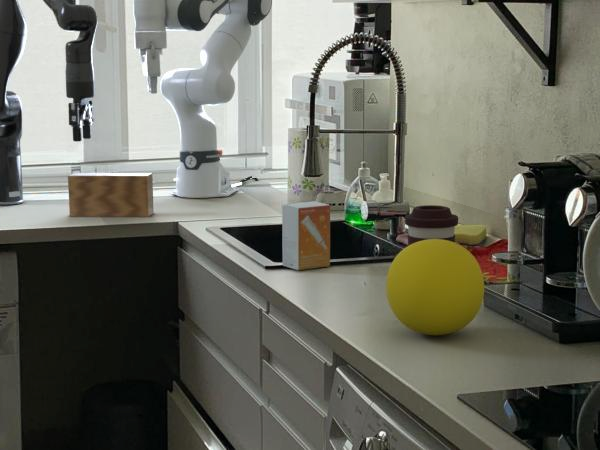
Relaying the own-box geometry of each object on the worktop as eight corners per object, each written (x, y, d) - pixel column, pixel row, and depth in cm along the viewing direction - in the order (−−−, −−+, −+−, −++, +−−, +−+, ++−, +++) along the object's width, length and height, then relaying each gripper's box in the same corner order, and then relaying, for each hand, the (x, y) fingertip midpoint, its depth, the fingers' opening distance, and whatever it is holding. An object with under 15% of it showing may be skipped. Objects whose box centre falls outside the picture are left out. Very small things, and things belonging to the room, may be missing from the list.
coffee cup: (400, 280, 202) (400, 204, 200) (450, 279, 203) (451, 203, 201) (409, 292, 193) (410, 212, 190) (462, 291, 193) (463, 211, 191)
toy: (452, 317, 175) (453, 228, 172) (500, 340, 161) (502, 244, 158) (370, 326, 170) (371, 235, 167) (413, 350, 156) (414, 252, 153)
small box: (298, 271, 212) (298, 207, 210) (281, 266, 217) (281, 204, 215) (331, 266, 217) (330, 204, 214) (314, 261, 222) (313, 200, 220)
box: (69, 216, 286) (67, 175, 285) (76, 212, 292) (74, 172, 291) (148, 216, 284) (147, 175, 282) (153, 213, 290) (152, 173, 289)
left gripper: (85, 80, 275) (87, 142, 278) (101, 79, 289) (103, 137, 292) (57, 81, 276) (60, 142, 278) (74, 79, 290) (77, 137, 292)
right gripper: (164, 42, 280) (166, 94, 283) (159, 42, 300) (161, 91, 302) (141, 42, 279) (143, 94, 281) (137, 42, 299) (139, 91, 301)
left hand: (82, 139), depth 285 cm, fingers open, 8 cm apart
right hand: (152, 92), depth 292 cm, fingers open, 8 cm apart
